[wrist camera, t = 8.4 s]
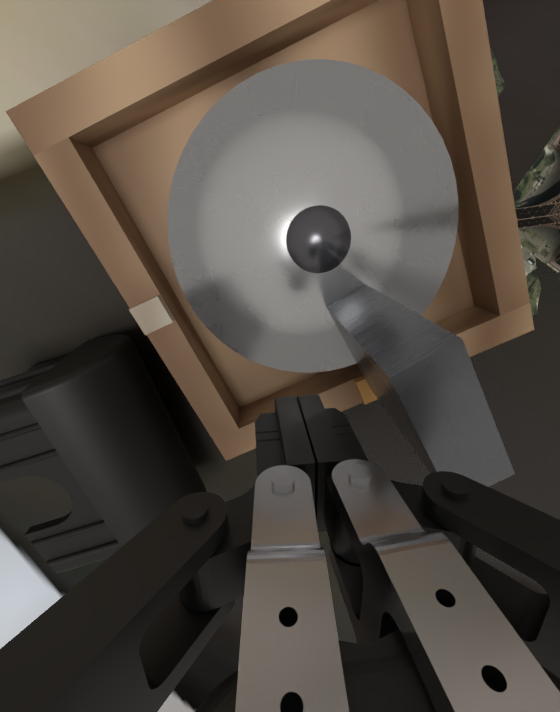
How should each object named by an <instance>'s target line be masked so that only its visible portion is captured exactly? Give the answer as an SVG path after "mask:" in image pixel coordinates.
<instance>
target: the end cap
mask: <svg viewBox="0 0 560 712" xmlns="http://www.w3.org/2000/svg"><path fill="white" fill-rule="evenodd" d="M25 475H37V476H43V477H47V478H49V479H52V480H54V481H56V482H57V483H59V484H61V485H62V486H63V487H64V488H65V489H66V490H67V491H68V492H69V494H70V496H71V498H72V501H73V509H72V511H71V512H70V513H69V514H67V515H66V516H64V517H61V518H58V519H55V520H52V521H48V522H45V523H42V524H38V525H35V526H32V527H30V528H29V529H28V531H27V532H26V534H25V536H26V537H27V539H28V540H29V541H30V542H31V544H32V545H33V546H34V547H35V549H36V550H37V551H38V552H39V554H40V555H41V556H42V557H43V558H44V560H45V561H46V562H47V563H48V565H49V566H50V567H51V568H52V570H53V571H55V572H56V573H61V572H64V571H68V570H71V569H74V568H78V567H81V566H84V565H88V564H91V563H94V562H98V561H101V560H104V559H108V558H109V557H110V556H112V555H113V554H114V553H115V552H116V551H117V550H119V549H120V548H121V547H122V546H123V545H125V544H126V543H127V542H128V541H129V540H130V539H132V538H133V537H134V536H135V535H136V534H138V533H139V532H140V531H141V530H142V529H144V528H145V527H146V526H147V525H148V524H149V523H151V522H152V521H153V520H154V519H155V518H157V517H158V516H159V515H160V514H161V513H163V512H164V511H165V510H166V509H167V508H168V507H170V506H171V505H172V504H173V503H174V502H176V501H177V500H178V499H180V498H182V497H184V496H186V495H188V494H192V493H196V492H206V488H205V486H204V484H203V482H202V480H201V478H200V476H199V474H198V472H197V470H196V468H195V466H194V464H193V462H192V460H191V458H190V456H189V454H188V452H187V450H186V447H185V445H184V443H183V441H182V439H181V437H180V435H179V433H178V431H177V429H176V427H175V425H174V423H173V421H172V419H171V417H170V415H169V413H168V411H167V409H166V407H165V405H164V403H163V401H162V399H161V397H160V395H159V393H158V391H157V389H156V387H155V385H154V383H153V381H152V379H151V377H150V375H149V373H148V371H147V369H146V367H145V365H144V363H143V361H142V359H141V357H140V355H139V353H138V350H137V348H136V346H135V344H134V342H133V340H132V339H131V338H130V337H129V336H127V335H124V334H113V335H108V336H103V337H99V338H96V339H92V340H89V341H86V342H85V343H84V344H83V345H81V346H80V347H79V348H77V349H76V350H75V351H73V352H72V353H69V354H66V355H62V356H59V357H56V358H53V359H50V360H47V361H44V362H40V363H38V364H36V365H35V366H33V367H32V368H30V369H29V370H28V372H26V373H23V374H20V375H16V376H13V377H10V378H7V379H4V380H1V381H0V482H3V481H7V480H10V479H13V478H16V477H20V476H25Z"/></svg>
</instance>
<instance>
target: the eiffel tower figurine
mask: <svg viewBox="0 0 560 712" xmlns="http://www.w3.org/2000/svg"><path fill="white" fill-rule="evenodd" d="M490 52H491V58H492V64H493V71H494V77H495V83H496V90H497V96H498V97H499V95H500V93H501V92H502V90H503V88H504V87H505V85H506V84H505V82H504V80H503V78H502V77H501V75H500V72H499V68H498V64H497V60H496V56H495V52H494V49H491V50H490ZM513 198H514V204H515V210H516V217H517V223H518V229H519V236H520V242H521V249H522V255H523V261H524V268H525V274H526V280H527V287H528V293H529V299H530V306H531V312H532V317H533V316H534V315H535V314H537V308H538V300H539V297H540V293H541V289H542V287H541V284H540V281H539V279H538V274H537V268H536V260H535V257H536V258H538V259H539V260H541V261H542V262H543V263H545V264H546V265H548V266H549V267H550V268H552V269H553V270H554V271H556V272H557V273H559V272H560V126H559V127H558V129H557V130H556V132H555V133H554V135H553V136H552V137H551V139H550V140H549V142H548V143H547V145H546V146H545V147H544V149H543V150H542V152H541V153H540V155H539V156H538V157H537V159H536V160H535V162H534V163H533V165H532V166H531V167H530V169H529V170H528V172H527V173H526V175H525V176H524V177H523V179H522V180H521V182H520V183H519V185H518V186H517V187H516V189H515V190H514V192H513ZM534 256H535V257H534Z"/></svg>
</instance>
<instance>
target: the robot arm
mask: <svg viewBox="0 0 560 712" xmlns="http://www.w3.org/2000/svg"><path fill="white" fill-rule="evenodd" d="M255 436H256V455H257V479H256V482H255V484H254V486H253V487H252V488H251V489H250V490H249V491H248V492H247V493H245V494H244V495H242V496H240V497H238V498H235V499H233V500H230V501H227V502H224V500H223V499H222V498H221V497H219V496H218V495H216V494H213V493H209V492H196V493H192V494H188V495H186V496H184V497H182V498H180V499H178V500H177V501H176V502H174V503H173V504H172V505H171V506H170V507H168V508H167V509H166V510H165V511H164V512H163V513H161V514H160V515H159V516H158V517H157V518H155V519H154V520H153V521H152V522H151V523H149V524H148V525H147V526H146V527H145V528H144V529H142V530H141V531H140V532H139V533H138V534H136V535H135V536H134V537H133V538H132V539H130V540H129V541H128V542H127V543H126V544H125V545H123V546H122V547H121V548H120V549H119V550H117V551H116V552H115V553H114V554H113V555H112V556H110V557H109V558H108V559H107V560H106V561H104V562H103V563H102V564H101V565H100V566H98V567H97V568H96V569H95V570H94V571H93V572H91V573H90V574H89V575H88V576H87V577H85V578H84V579H83V580H82V581H81V582H79V583H78V584H77V585H76V586H75V587H74V588H72V589H71V590H70V591H69V592H68V593H66V594H65V595H64V596H63V597H62V598H60V599H59V600H58V601H57V602H56V603H55V604H53V605H52V606H51V607H50V608H49V609H48V610H46V611H45V612H44V613H43V614H41V615H40V616H39V617H38V618H37V619H36V620H34V621H33V622H32V623H31V624H30V625H28V626H27V627H26V628H25V629H24V630H23V631H21V632H20V633H19V634H18V635H17V636H16V637H14V638H13V639H12V640H11V641H9V642H8V643H7V644H6V645H5V646H4V647H2V648H1V649H0V712H157V711H158V710H159V709H160V707H161V706H162V705H163V703H164V702H165V700H166V699H167V698H168V696H169V695H170V694H171V692H172V691H173V689H174V688H175V687H176V685H177V684H178V683H179V681H180V680H181V678H182V677H183V676H184V674H185V673H186V672H187V670H188V669H189V667H190V666H191V665H192V663H193V662H194V661H195V659H196V658H197V656H198V655H199V654H200V652H201V651H202V650H203V648H204V647H205V645H206V644H207V643H208V641H209V640H210V639H211V637H212V636H213V634H214V633H215V632H216V630H217V629H218V628H219V626H220V625H221V624H222V622H223V621H224V619H225V618H226V617H227V615H228V614H229V613H230V611H231V609H232V608H233V605H234V603H235V600H236V599H238V598H240V597H242V596H244V602H243V615H242V628H241V641H240V654H239V668H238V670H237V671H236V672H234V673H233V674H231V675H230V676H229V677H227V678H226V679H225V680H224V681H223V682H221V683H220V684H219V685H218V686H217V687H216V688H215V689H214V690H213V691H212V692H211V693H210V694H209V695H208V696H207V697H206V699H205V700H204V701H203V702H202V704H201V705H200V706H199V708H198V709H197V710H196V711H195V712H560V520H558V519H556V518H554V517H552V516H550V515H548V514H545V513H543V512H541V511H539V510H537V509H535V508H533V507H530V506H528V505H526V504H524V503H522V502H520V501H517V500H515V499H513V498H511V497H509V496H507V495H504V494H502V493H500V492H498V491H496V490H494V489H492V488H489V487H487V486H485V485H483V484H481V483H479V482H476V481H474V480H472V479H470V478H468V477H466V476H463V475H461V474H457V473H454V472H447V471H439V472H434V473H431V474H429V475H428V476H426V478H425V479H424V482H423V486H419V485H412V484H406V483H400V482H396V481H392V480H390V479H389V478H388V476H387V475H386V473H385V472H384V471H383V470H382V469H381V468H380V467H379V466H377V465H376V464H374V463H372V462H369V461H368V459H367V457H366V455H365V453H364V451H363V449H362V447H361V445H360V443H359V441H358V439H357V437H356V435H354V431H353V430H352V428H351V427H350V424H349V422H348V420H347V418H346V416H345V415H344V414H343V413H341V412H340V411H339V410H337V409H336V408H326V409H325V408H324V406H323V404H322V401H321V399H320V396H319V395H307V396H297V398H296V396H294V397H279V398H275V412H272V413H261V414H260V415H259V417H258V418H257V420H256V421H255ZM320 531H327V532H328V536H329V540H330V545H329V556H330V560H331V563H332V566H333V569H334V572H335V575H336V578H337V581H338V584H339V587H340V590H341V593H342V596H343V599H344V602H345V605H346V608H347V611H348V614H349V617H350V620H351V623H352V626H353V629H354V633H355V637H356V643H351V642H345V641H339V640H338V635H337V629H336V622H335V616H334V609H333V603H332V597H331V590H330V584H329V577H328V571H327V564H326V558H325V553H324V549H323V548H320V543H319V536H318V532H320ZM477 547H478V548H480V549H482V550H484V551H485V552H487V553H489V554H491V555H492V556H494V557H496V558H497V559H499V560H501V561H503V562H504V563H506V564H508V565H509V566H511V567H513V568H515V569H516V570H518V571H520V572H521V573H523V574H525V575H527V576H528V577H530V578H532V579H533V580H535V581H536V582H538V583H539V584H540V585H541V586H542V587H543V588H544V589H545V590H546V592H547V593H548V594H539V593H536V592H534V591H532V590H530V589H528V588H527V587H525V586H523V585H522V584H520V583H519V582H517V581H515V580H514V579H512V578H510V577H509V576H507V575H505V574H504V573H502V572H500V571H499V570H497V569H495V568H494V567H492V566H490V565H489V564H487V563H485V562H484V561H482V560H480V559H479V558H477V557H475V553H476V549H477Z"/></svg>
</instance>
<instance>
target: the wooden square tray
mask: <svg viewBox="0 0 560 712" xmlns="http://www.w3.org/2000/svg"><path fill="white" fill-rule="evenodd" d="M312 59H328V60H336V61H345V62H348V63H352V64H355V65H359V66H362V67H366V68H368V69H370V70H372V71H374V72H376V73H379V74H381V75H383V76H385V77H387V78H388V79H389V80H391V81H392V82H394V83H395V84H397V85H398V86H400V87H401V88H403V89H404V90H405V91H406V92H407V93H408V94H409V95H410V96H411V97H412V98H413V99H414V100H415V101H417V102H418V103H419V104H420V106H421V107H422V108H423V110H424V111H425V112H426V113H427V115H428V116H429V117H430V119H431V120H432V121H433V123H434V125H435V126H436V128H437V130H438V132H439V133H440V135H441V137H442V139H443V141H444V143H445V146H446V148H447V151H448V153H449V156H450V158H451V162H452V166H453V170H454V174H455V178H456V185H457V192H458V227H457V236H456V242H455V246H454V250H453V254H452V258H451V261H450V264H449V267H448V270H447V272H446V275H445V277H444V279H443V282H442V284H441V286H440V288H439V290H438V292H437V294H436V295H435V297H434V298H433V300H432V301H431V303H430V305H429V306H428V308H427V309H426V310H425V312H424V313H423V314H422V315H421V316H423V317H425V318H427V319H428V320H430V321H432V322H434V323H435V324H437V325H439V326H441V327H443V328H444V329H446V330H448V331H450V332H451V333H453V334H455V335H457V336H459V337H460V338H462V339H463V342H464V345H465V347H466V350H467V352H468V355H469V357H471V356H474V355H476V354H478V353H481V352H483V351H485V350H488V349H490V348H492V347H495V346H497V345H499V344H502V343H504V342H507V341H509V340H511V339H514V338H516V337H518V336H521V335H523V334H525V333H528V332H530V331H532V330H534V325H533V318H532V312H531V306H530V299H529V293H528V287H527V280H526V274H525V268H524V261H523V255H522V249H521V242H520V236H519V229H518V223H517V217H516V210H515V204H514V198H513V191H512V185H511V179H510V172H509V166H508V160H507V153H506V147H505V141H504V134H503V128H502V122H501V115H500V109H499V103H498V96H497V90H496V83H495V77H494V71H493V64H492V58H491V52H490V45H489V39H488V33H487V26H486V20H485V14H484V7H483V1H482V0H213V1H211V2H209V3H207V4H205V5H203V6H202V7H200V8H198V9H196V10H194V11H192V12H190V13H189V14H187V15H185V16H183V17H181V18H179V19H177V20H175V21H174V22H172V23H170V24H168V25H166V26H164V27H162V28H161V29H159V30H157V31H155V32H153V33H151V34H149V35H148V36H146V37H144V38H142V39H140V40H138V41H136V42H134V43H133V44H131V45H129V46H127V47H125V48H123V49H121V50H120V51H118V52H116V53H114V54H112V55H110V56H108V57H106V58H105V59H103V60H101V61H99V62H97V63H95V64H93V65H92V66H90V67H88V68H86V69H84V70H82V71H80V72H79V73H77V74H75V75H73V76H71V77H69V78H67V79H65V80H64V81H62V82H60V83H58V84H56V85H54V86H52V87H51V88H49V89H47V90H45V91H43V92H41V93H39V94H37V95H36V96H34V97H32V98H30V99H28V100H26V101H24V102H23V103H21V104H19V105H17V106H15V107H13V108H11V109H10V110H8V111H6V113H7V114H8V116H9V117H10V119H11V121H12V122H13V124H14V125H15V127H16V128H17V130H18V132H19V133H20V135H21V136H22V138H23V140H24V141H25V143H26V144H27V146H28V147H29V149H30V151H31V152H32V154H33V155H34V157H35V159H36V160H37V162H38V163H39V165H40V167H41V168H42V170H43V171H44V173H45V174H46V176H47V178H48V179H49V181H50V182H51V184H52V186H53V187H54V189H55V190H56V192H57V193H58V195H59V197H60V198H61V200H62V201H63V203H64V205H65V206H66V208H67V209H68V211H69V212H70V214H71V216H72V217H73V219H74V220H75V222H76V224H77V225H78V227H79V228H80V230H81V232H82V233H83V235H84V236H85V238H86V239H87V241H88V243H89V244H90V246H91V247H92V249H93V251H94V252H95V254H96V255H97V257H98V258H99V260H100V262H101V263H102V265H103V266H104V268H105V270H106V271H107V273H108V274H109V276H110V277H111V279H112V281H113V282H114V284H115V285H116V287H117V289H118V290H119V292H120V293H121V295H122V297H123V298H124V300H125V301H126V303H127V304H128V306H129V308H130V309H129V311H130V312H131V314H132V316H133V317H134V319H135V320H136V322H137V323H138V325H139V327H140V328H141V330H142V331H143V333H144V334H145V335H147V336H148V338H149V339H150V341H151V342H152V344H153V346H154V347H155V349H156V350H157V352H158V354H159V355H160V357H161V358H162V360H163V362H164V363H165V365H166V366H167V368H168V369H169V371H170V373H171V374H172V376H173V377H174V379H175V381H176V382H177V384H178V385H179V387H180V388H181V390H182V392H183V393H184V395H185V396H186V398H187V400H188V401H189V403H190V404H191V406H192V407H193V409H194V411H195V412H196V414H197V415H198V417H199V419H200V420H201V422H202V423H203V425H204V427H205V428H206V430H207V431H208V433H209V434H210V436H211V438H212V439H213V441H214V442H215V444H216V446H217V447H218V449H219V450H220V452H221V453H222V455H223V457H224V458H225V460H226V461H227V460H229V459H232V458H234V457H236V456H239V455H241V454H243V453H246V452H248V451H250V450H253V449H255V448H256V436H255V421H256V420H257V418H258V417H259V415H260V414H261V413H272V412H275V398H279V397H294V396H296V398H297V396H307V395H319V396H320V399H321V401H322V404H323V406H324V408H325V409H326V408H336V409H337V410H339V411H340V412H342V411H344V410H347V409H349V408H351V407H354V406H356V405H358V404H361V403H364V404H368V403H370V402H372V401H375V400H377V397H376V396H375V395H374V393H373V392H372V390H371V389H370V387H369V385H368V384H367V382H366V380H365V378H364V376H363V374H362V372H361V371H360V369H359V367H358V365H357V363H356V364H353V365H350V366H347V367H345V368H340V369H335V370H331V371H324V372H313V373H307V372H291V371H284V370H278V369H275V368H271V367H267V366H264V365H261V364H259V363H256V362H254V361H252V360H249V359H247V358H245V357H244V356H242V355H240V354H238V353H237V352H235V351H233V350H232V349H231V348H229V347H228V346H227V345H225V344H224V343H223V342H221V341H220V340H219V339H218V338H217V337H216V336H215V335H214V334H213V333H212V332H211V331H210V330H208V329H207V328H206V326H205V325H204V324H203V323H202V321H201V320H200V319H199V318H198V316H197V315H196V314H195V312H194V311H193V309H192V307H191V306H190V304H189V302H188V301H187V299H186V298H185V295H184V293H183V291H182V289H181V286H180V284H179V282H178V280H177V277H176V273H175V270H174V267H173V264H172V260H171V254H170V249H169V243H168V229H167V214H168V201H169V194H170V190H171V185H172V180H173V176H174V173H175V170H176V167H177V164H178V161H179V159H180V156H181V153H182V152H183V150H184V148H185V146H186V144H187V142H188V140H189V138H190V136H191V134H192V133H193V131H194V130H195V128H196V127H197V125H198V124H199V123H200V121H201V120H202V118H203V117H204V115H205V114H206V113H207V112H208V111H209V110H210V109H211V108H212V107H213V106H214V105H215V104H216V103H217V101H218V100H219V99H220V98H222V97H223V96H224V95H225V94H227V93H228V92H229V91H230V90H232V89H233V88H234V87H235V86H237V85H238V84H240V83H241V82H243V81H245V80H246V79H248V78H250V77H252V76H253V75H255V74H257V73H259V72H261V71H264V70H267V69H269V68H272V67H274V66H277V65H280V64H285V63H289V62H294V61H299V60H312Z"/></svg>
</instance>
